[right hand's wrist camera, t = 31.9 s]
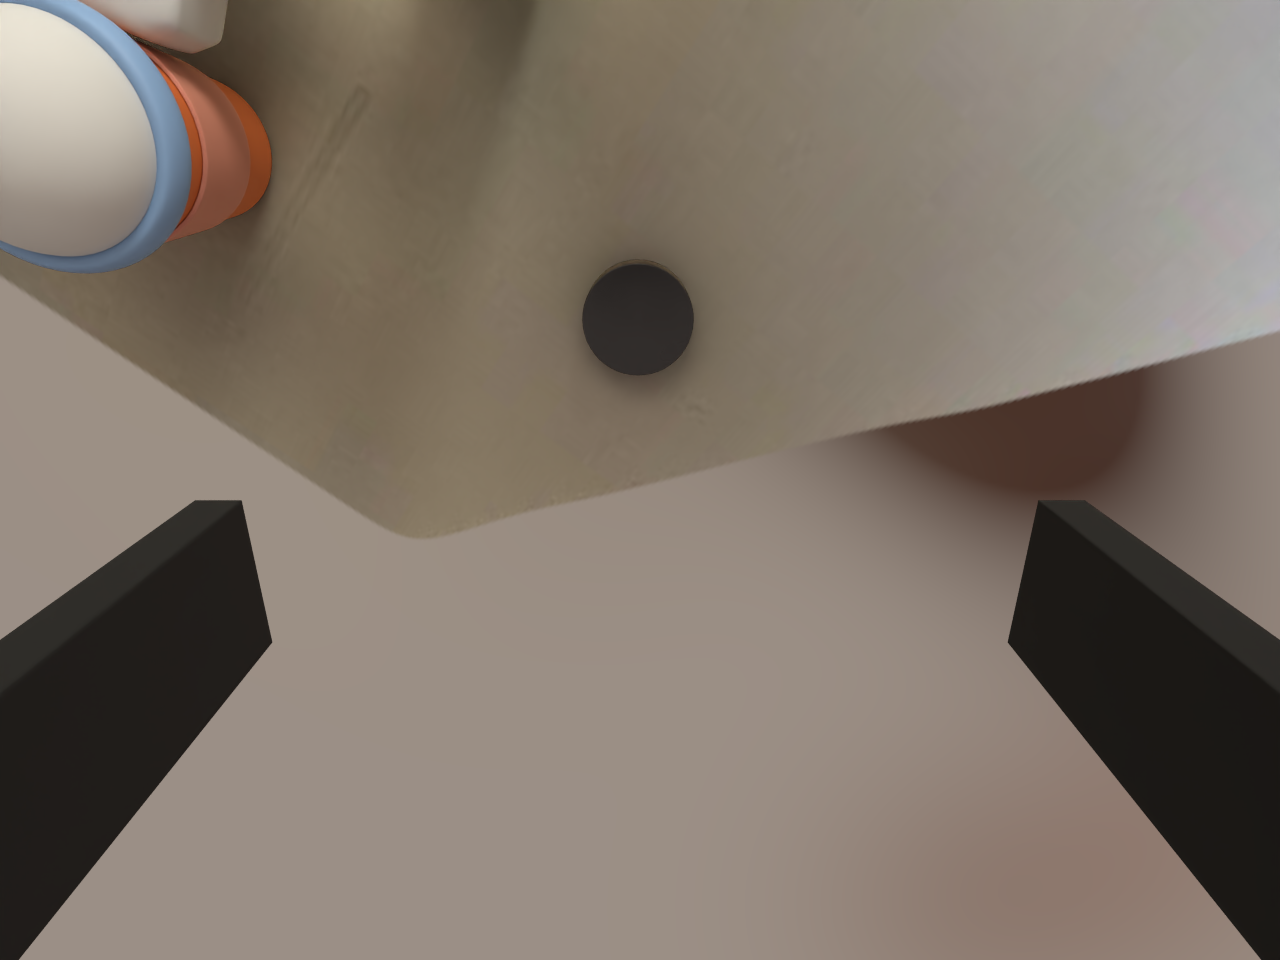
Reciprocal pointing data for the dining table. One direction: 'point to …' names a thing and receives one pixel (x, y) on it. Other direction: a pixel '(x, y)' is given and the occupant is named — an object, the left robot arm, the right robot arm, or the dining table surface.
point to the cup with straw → (113, 142)
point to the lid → (638, 317)
